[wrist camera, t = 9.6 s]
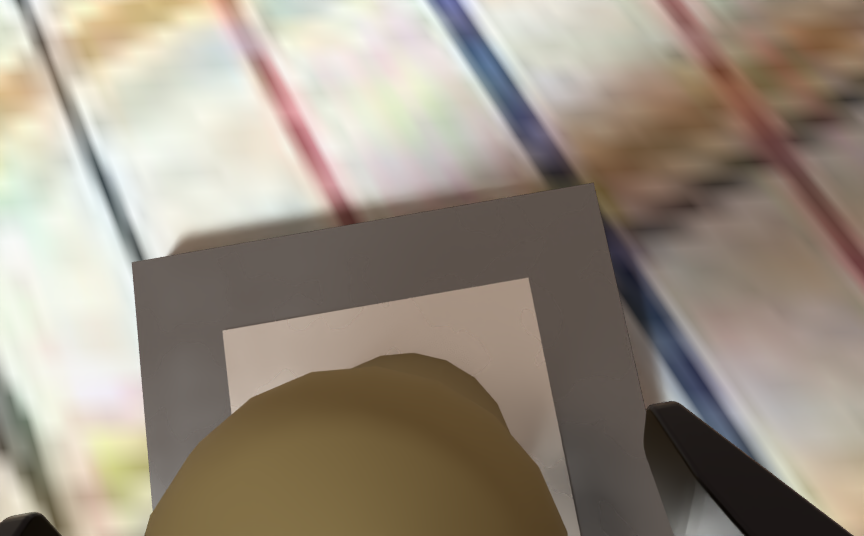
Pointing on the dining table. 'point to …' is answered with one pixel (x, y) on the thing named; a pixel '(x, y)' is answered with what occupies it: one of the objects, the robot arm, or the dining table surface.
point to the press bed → (418, 336)
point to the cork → (362, 461)
